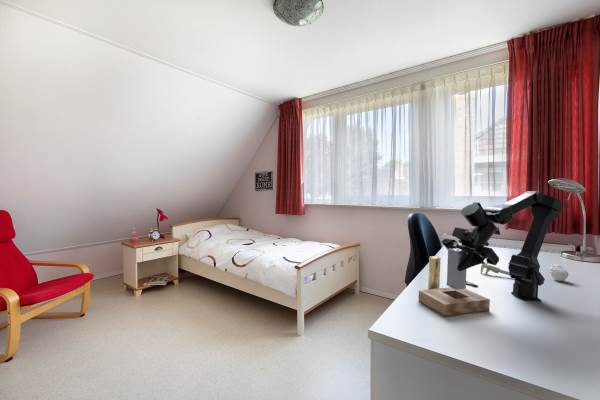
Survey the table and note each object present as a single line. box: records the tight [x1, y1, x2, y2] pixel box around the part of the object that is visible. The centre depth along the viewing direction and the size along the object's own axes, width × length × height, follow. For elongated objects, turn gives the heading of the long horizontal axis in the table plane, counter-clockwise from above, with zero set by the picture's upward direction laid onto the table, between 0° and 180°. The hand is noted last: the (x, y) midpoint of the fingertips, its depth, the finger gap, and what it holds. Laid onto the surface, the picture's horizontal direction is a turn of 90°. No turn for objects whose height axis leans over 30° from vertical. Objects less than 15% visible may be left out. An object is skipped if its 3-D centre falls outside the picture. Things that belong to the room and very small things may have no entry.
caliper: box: [480, 261, 510, 276], centre depth 124 cm, size 20×1×6 cm, turn 55°
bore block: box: [418, 286, 491, 318], centre depth 92 cm, size 18×12×4 cm, turn 105°
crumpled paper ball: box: [548, 264, 570, 282], centre depth 120 cm, size 6×7×7 cm
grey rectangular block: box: [446, 248, 467, 290], centre depth 92 cm, size 4×4×13 cm
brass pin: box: [427, 255, 441, 290], centre depth 107 cm, size 4×4×13 cm
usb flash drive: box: [466, 280, 479, 288], centre depth 115 cm, size 9×5×1 cm, turn 17°
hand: (453, 268), depth 92 cm, fingers closed on grey rectangular block, 4 cm apart
